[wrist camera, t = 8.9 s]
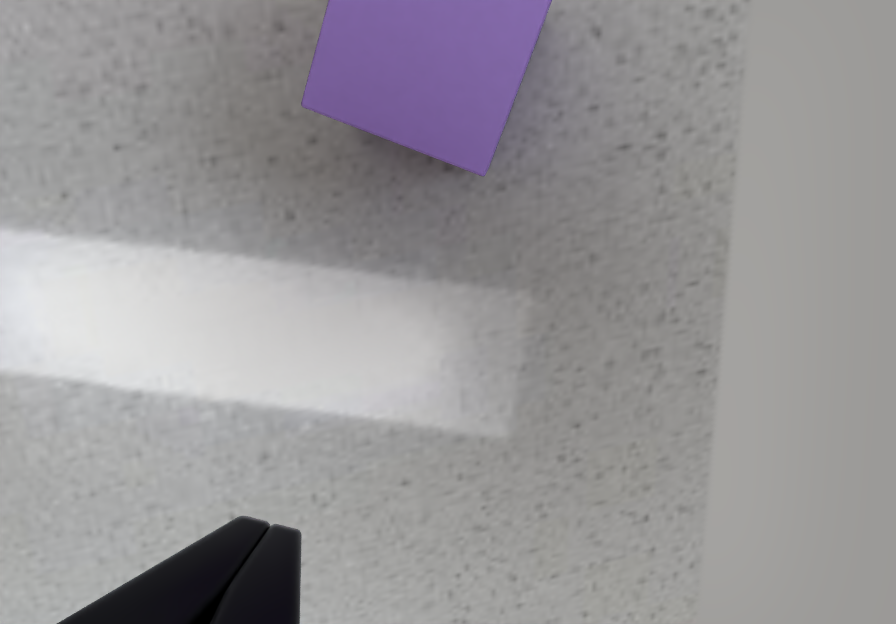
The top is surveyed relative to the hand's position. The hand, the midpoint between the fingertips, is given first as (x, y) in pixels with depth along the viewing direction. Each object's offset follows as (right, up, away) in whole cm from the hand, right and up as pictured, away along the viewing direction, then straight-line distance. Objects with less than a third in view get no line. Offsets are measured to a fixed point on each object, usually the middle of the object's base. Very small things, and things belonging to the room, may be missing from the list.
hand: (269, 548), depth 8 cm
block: (+2, +10, +9) cm, 14 cm away
